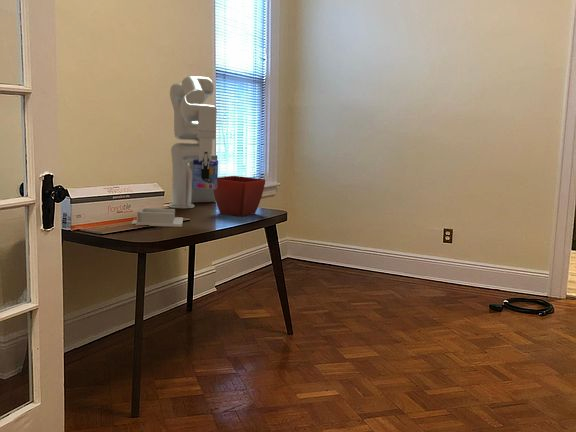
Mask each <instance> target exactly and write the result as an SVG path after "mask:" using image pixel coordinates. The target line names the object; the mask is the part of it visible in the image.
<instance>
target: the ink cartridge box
mask: <svg viewBox="0 0 576 432" xmlns="http://www.w3.org/2000/svg"><path fill="white" fill-rule="evenodd" d="M207 157H208V155H207ZM203 162H204V161H203ZM207 162H208V161H207ZM203 168H204V166H203ZM207 168H208V167H207ZM201 170H202V161H200V162H199V159H194V160H193V182H192V188H200V189H211V190H214V189H216V188H217V180H218V175H219V174H218V172H219V160H218V159H217V160H211V162H210V163H209V179H202V178H201Z"/></svg>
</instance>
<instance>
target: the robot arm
mask: <svg viewBox="0 0 576 432" xmlns="http://www.w3.org/2000/svg"><path fill="white" fill-rule="evenodd" d="M214 91H215V90H214V83H213V81H212V79H211V78H209V77H206V76H194V75H193V76H192V75H191V76H190V75H189V76H186V77H183V79H182V81H181V82H178V83H173V84H172V85H171V86H170V89H169V97H170V101H171V105H172V108H173V131H174V138H176V139H177V140H181V141H194V142H196V143H194V142H193V143H191V142H177V143H174V144H173V145H172V146H171V149H170V153H171V162H172V175H171V177H172V178H171V179H172V184H171V185H172V186H171V187H172V189H171V190H172V191H171V202H170V203H168V208H171V209H193V208H195V204H194V203H192V202H191V196H192V170H191V169H190V167H189V164H190V163H193V160H194V159H199V162H200V161H202V170H201V178H202V179H209V163H210V162H211V156H212V155H213V142H214V140H216V136H217V135H216V134H217V132H216V130H217V114H218V113H217V107H216V106H215V105H212V104H204V103H205V102H207V100H209V98H211V96H212V95H213V93H214ZM207 155H208V157H207ZM203 161H204V162H203ZM207 161H208V162H207ZM188 163H189V164H188ZM203 166H204V168H203ZM207 167H208V168H207Z"/></svg>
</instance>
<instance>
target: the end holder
mask: <svg viewBox="0 0 576 432" xmlns="http://www.w3.org/2000/svg"><path fill="white" fill-rule="evenodd" d="M143 208H144V209H140V208H139V210H138V211H137V214H136V216H137V220H134V219H133V220H132V222H131V225H132V224H136V225H135V226H138V225H149V226H148V227H175V228H176V227H178V228H179V227H181V228H182V226H183V221H184V217H182V216H181V217H176V208H153V207H152V208H150V207H143Z"/></svg>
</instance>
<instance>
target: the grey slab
mask: <svg viewBox="0 0 576 432" xmlns="http://www.w3.org/2000/svg"><path fill="white" fill-rule="evenodd" d="M211 160H218V155H217V154H212V156H211ZM188 166H189V167H190V169H191V170H192V182H193V163H189V164H188ZM194 203H216V200H215V196H214V191H213V190H211V189H200V188H192V196H191V204H194Z"/></svg>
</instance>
